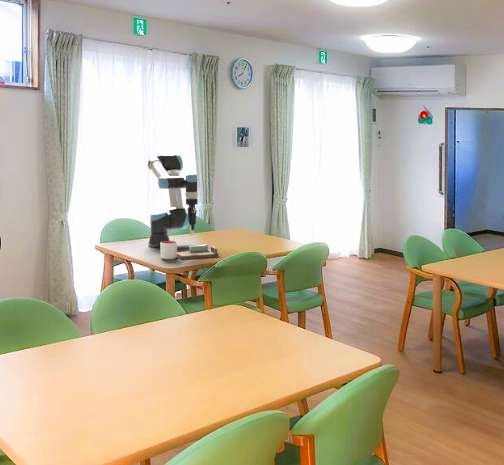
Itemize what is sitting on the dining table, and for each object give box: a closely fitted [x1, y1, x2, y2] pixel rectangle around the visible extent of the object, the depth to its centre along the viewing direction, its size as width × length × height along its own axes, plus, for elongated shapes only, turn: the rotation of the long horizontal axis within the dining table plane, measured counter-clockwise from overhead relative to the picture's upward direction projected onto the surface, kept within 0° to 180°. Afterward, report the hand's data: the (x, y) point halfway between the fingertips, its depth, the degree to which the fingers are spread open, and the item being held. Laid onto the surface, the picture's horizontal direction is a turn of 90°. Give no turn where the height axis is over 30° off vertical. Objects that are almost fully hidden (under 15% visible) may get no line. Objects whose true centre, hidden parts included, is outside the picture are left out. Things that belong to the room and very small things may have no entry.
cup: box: [159, 240, 178, 260], centre depth 383 cm, size 10×10×10 cm
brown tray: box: [176, 245, 219, 260], centre depth 391 cm, size 14×24×5 cm, turn 112°
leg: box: [188, 243, 209, 251], centre depth 396 cm, size 12×3×4 cm, turn 112°
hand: (192, 234), depth 401 cm, fingers closed
